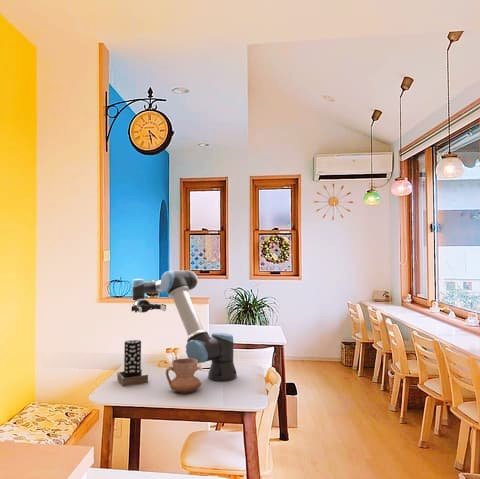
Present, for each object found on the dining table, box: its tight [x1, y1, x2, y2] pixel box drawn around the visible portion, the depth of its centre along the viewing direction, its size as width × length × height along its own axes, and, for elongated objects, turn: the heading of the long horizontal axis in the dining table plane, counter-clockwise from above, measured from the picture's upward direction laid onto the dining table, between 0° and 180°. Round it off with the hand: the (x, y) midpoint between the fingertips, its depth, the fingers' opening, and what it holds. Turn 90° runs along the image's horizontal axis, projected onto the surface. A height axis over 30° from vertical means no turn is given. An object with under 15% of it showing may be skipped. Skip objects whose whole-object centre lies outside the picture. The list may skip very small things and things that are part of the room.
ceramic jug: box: [165, 357, 203, 394], centre depth 194 cm, size 18×14×14 cm
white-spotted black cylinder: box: [123, 339, 142, 378], centre depth 208 cm, size 8×8×20 cm
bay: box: [116, 368, 149, 388], centre depth 208 cm, size 13×13×4 cm
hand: (153, 309), depth 225 cm, fingers open, 13 cm apart
